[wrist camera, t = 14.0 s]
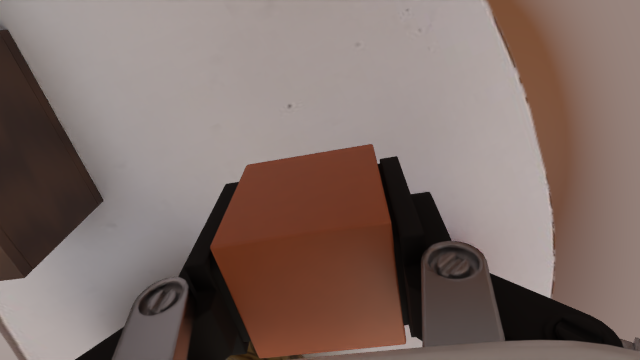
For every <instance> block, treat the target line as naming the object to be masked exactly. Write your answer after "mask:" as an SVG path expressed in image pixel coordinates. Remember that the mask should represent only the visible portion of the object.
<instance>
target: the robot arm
mask: <svg viewBox="0 0 640 360" xmlns="http://www.w3.org/2000/svg"><path fill="white" fill-rule="evenodd" d="M378 169H379V173H380V177H381V181H382V186H383V190H384V194H385V198H386V202H387V207H388V211H389V215H390V219H391V225H392V233H393V241H394V255H395V263H396V270H397V278H398V286H399V294H400V302H401V310H402V318H403V324H404V325H409V328H410V332H411V337H417V338H418V339H420V340H421V341H422V342H423V347H421V348H410V349H399V350H388V351H377V352H366V353H356V354H345V355H334V356H323V357H312V358H302V359H292V360H640V339H639V338H635V341H634V343H632V342H629V341H626V340H623V339H619V337H618V336H617V335H616V334H615V332H614V331H613V330H612V329H610V328H609V327H608V326H607V325H605V324H604V323H603V322H602V321H600V320H598V319H596V318H594V317H592V316H590V315H588V314H585V313H583V312H581V311H579V310H576V309H573V308H571V307H569V306H567V305H564V304H562V303H560V302H557V301H555V300H552V299H550V298H548V297H545V296H543V295H541V294H538V293H536V292H533V291H531V290H529V289H526V288H524V287H522V286H519V285H517V284H514V283H512V282H510V281H507V280H505V279H503V278H500V277H498V276H495V275H493V274H491V273H489V269H488V265H487V261H486V259H485V257H484V255H483V254H482V253H481V252H480V251H479V250H478V249H477V248H475V247H473V246H471V245H469V244H466V243H463V242H457V241H452V240H451V238H450V236H449V234H448V231H447V229H446V227H445V225H444V222H443V220H442V218H441V216H440V213H439V211H438V209H437V207H436V204H435V202H434V200H433V198H432V195H431V194H430V192H424V193H417V194H410V191H409V189H408V186H407V183H406V180H405V177H404V174H403V172H402V169H401V166H400V163H399V160H398V157H397V156H396V157H390V158H384V159H380V164H378ZM238 183H239V182H235V183H229V184H226V185H225V187H224V189H223V191H222V193H221V194H220V196H219V198H218V200H217V202H216V204H215V206H214V208H213V210H212V212H211V214H210V216H209V218H208V220H207V222H206V224H205V226H204V228H203V229H202V231H201V233H200V235H199V237H198V239H197V241H196V243H195V245H194V247H193V249H192V251H191V253H190V255H189V257H188V259H187V261H186V263H185V265H184V267H183V269H182V271H181V273H180V275H179V277H171V278H166V279H163V280H160V281H158V282H156V283H154V284H152V285H151V286H149V287H148V288H147V289H145V290H144V291H143V292H142V293H141V294H140V295H139V296H138V297H137V299H136V300H135V302H134V304H133V306H132V308H131V311H130V314H129V316H128V319H127V321H126V324H125V326H124V327H123V328H122V329H120V330H119V331H117V332H116V333H114V334H113V335H111V336H110V337H108V338H107V339H105V340H104V341H102V342H101V343H99V344H98V345H96V346H95V347H93V348H92V349H90V350H89V351H87V352H86V353H84V354H83V355H81V356H80V357H78V358H77V359H75V360H227V358H228V357H229V356H231V355H241V354H247V350H248V346H249V341H251V339H250V336H249V334H248V332H247V330H246V327H245V325H244V323H243V321H242V318H241V316H240V314H239V312H238V310H237V307H236V305H235V303H234V301H233V298H232V296H231V294H230V292H229V289H228V287H227V285H226V283H225V280H224V278H223V276H222V274H221V271H220V269H219V267H218V265H217V262H216V260H215V258H214V256H213V253H212V251H211V249H210V246H211V244H212V241H213V239H214V237H215V235H216V232H217V230H218V228H219V226H220V223H221V221H222V219H223V217H224V215H225V212H226V210H227V208H228V206H229V203H230V201H231V199H232V197H233V195H234V192H235V190H236V188H237V186H238Z"/></svg>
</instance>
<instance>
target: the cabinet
mask: <svg viewBox="0 0 640 360" xmlns="http://www.w3.org/2000/svg"><path fill="white" fill-rule="evenodd" d="M102 202H103V199H102V197H101V196H100V194H99V192H98V190H97V189H96V187H95V185H94V183H93V181H92V180H91V178H90V176H89V174H88V173H87V171H86V169H85V167H84V165H83V164H82V162H81V160H80V158H79V156H78V155H77V153H76V151H75V149H74V148H73V146H72V144H71V142H70V140H69V139H68V137H67V135H66V133H65V131H64V130H63V128H62V126H61V124H60V123H59V121H58V119H57V117H56V115H55V114H54V112H53V110H52V108H51V107H50V105H49V103H48V101H47V99H46V98H45V96H44V94H43V92H42V90H41V89H40V87H39V85H38V83H37V82H36V80H35V78H34V76H33V74H32V73H31V71H30V69H29V67H28V65H27V64H26V62H25V60H24V58H23V57H22V55H21V53H20V51H19V49H18V48H17V46H16V44H15V42H14V41H13V39H12V37H11V35H10V33H9V32H8V30H1V31H0V281H4V280H12V279H20V278H25V277H26V276H27V275H28V274H29V273H30V272H31V271H32V270H33V269H34V268H35V267H36V266H37V265H38V264H39V263H40V262H41V261H42V260H43V259H44V258H45V257H46V256H47V255H48V254H50V253H51V252H52V251H53V250H54V249H55V248H56V247H57V246H58V245H59V244H60V243H61V242H62V241H63V240H64V239H65V238H66V237H67V236H68V235H69V234H70V233H71V232H72V231H73V230H74V229H75V228H76V227H77V226H78V225H79V224H80V223H81V222H82V221H83V220H84V219H85V218H86V217H87V216H88V215H89V214H90V213H91V212H92V211H93V210H94V209H95V208H96V207H97V206H98V205H99V204H101V203H102Z"/></svg>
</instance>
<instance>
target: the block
mask: <svg viewBox="0 0 640 360" xmlns="http://www.w3.org/2000/svg"><path fill="white" fill-rule="evenodd" d="M210 249H211V251H212V253H213V256H214V258H215V260H216V262H217V265H218V267H219V269H220V271H221V274H222V276H223V278H224V280H225V283H226V285H227V287H228V289H229V292H230V294H231V296H232V298H233V301H234V303H235V305H236V307H237V310H238V312H239V314H240V316H241V318H242V321H243V323H244V325H245V327H246V330H247V332H248V334H249V336H250V339H251V341H252V343H253V345H254V348H255V350H256V352H257V354H258V357H259V358H270V357H280V356H290V355H300V354H310V353H320V352H330V351H341V350H351V349H361V348H371V347H381V346H391V345H401V344H405V343H406V336H405V328H404V324H403V318H402V310H401V302H400V294H399V286H398V278H397V270H396V263H395V255H394V241H393V233H392V225H391V219H390V215H389V211H388V207H387V202H386V198H385V194H384V190H383V186H382V181H381V177H380V173H379V169H378V164H377V160H376V156H375V152H374V148H373V145H372V144H369V145H363V146H357V147H351V148H345V149H339V150H333V151H327V152H321V153H315V154H309V155H303V156H297V157H291V158H285V159H279V160H273V161H267V162H261V163H255V164H250V165H247V166H246V168H245V170H244V172H243V175H242V177H241V179H240V181H239V183H238V186H237V188H236V190H235V192H234V195H233V197H232V199H231V201H230V203H229V206H228V208H227V210H226V212H225V215H224V217H223V219H222V221H221V223H220V226H219V228H218V230H217V232H216V235H215V237H214V239H213V241H212V244H211V246H210Z"/></svg>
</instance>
